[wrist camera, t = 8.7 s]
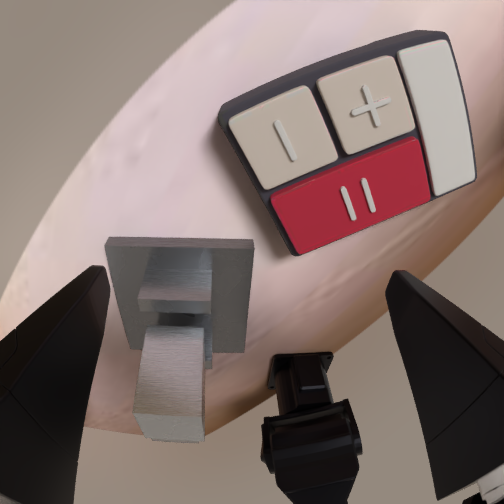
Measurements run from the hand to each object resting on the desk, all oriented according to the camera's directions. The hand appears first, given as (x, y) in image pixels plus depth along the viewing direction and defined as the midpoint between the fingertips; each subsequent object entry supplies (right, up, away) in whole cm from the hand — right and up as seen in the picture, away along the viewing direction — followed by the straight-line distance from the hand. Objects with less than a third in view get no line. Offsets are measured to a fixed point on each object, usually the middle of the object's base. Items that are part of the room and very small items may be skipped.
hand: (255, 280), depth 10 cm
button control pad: (+7, +9, +11) cm, 16 cm away
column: (-6, -6, +14) cm, 16 cm away
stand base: (-6, -3, +18) cm, 19 cm away
